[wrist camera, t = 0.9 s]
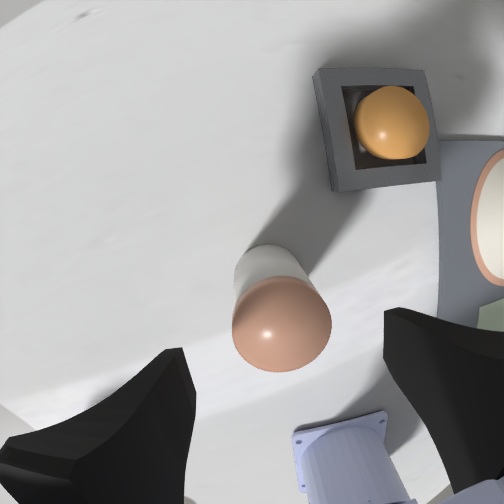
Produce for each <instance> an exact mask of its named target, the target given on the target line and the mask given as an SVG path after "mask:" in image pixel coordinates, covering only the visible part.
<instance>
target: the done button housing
mask: <svg viewBox="0 0 504 504" xmlns="http://www.w3.org/2000/svg"><path fill="white" fill-rule="evenodd" d="M312 78H313V83H314V87H315V92H316V97H317V103H318V108H319V113H320V119H321V124H322V130H323V136H324V141H325V148H326V154H327V160H328V167H329V174H330V181H331V188H332V191H334V192H347V191H355V190H362V189H370V188H378V187H387V186H395V185H404V184H413V183H422V182H432V181H442V171H441V162H440V154H439V146H438V139H437V133H436V127H435V121H434V115H433V110H432V105H431V100H430V95H429V91H428V86H427V82H426V78H425V74H424V71H423V70H410V69H392V68H326V69H318V70H317V71H316V72H315V74H314V75H313V76H312ZM385 86H398V87H402V88H404V89H406V90H408V91H410V92H411V93H412V94H414V95H415V96H416V97H417V98H418V99H419V101H420V102H421V103H422V105H423V106H424V108H425V110H426V113H427V116H428V119H429V137H428V140H427V143H426V145H425V147H424V148H423V149H422V151H421V152H420V153H418V154H417V155H415V156H414V163H415V164H406V165H395V166H384V167H374V168H364V169H355V162H354V155H353V149H352V143H351V137H350V131H349V125H348V119H347V114H346V109H345V104H344V98H343V94H342V92H351V91H376V90H378V89H380V88H382V87H385Z"/></svg>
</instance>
